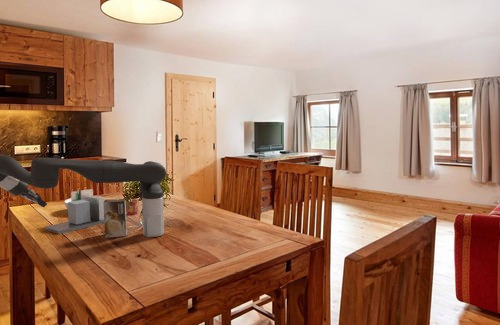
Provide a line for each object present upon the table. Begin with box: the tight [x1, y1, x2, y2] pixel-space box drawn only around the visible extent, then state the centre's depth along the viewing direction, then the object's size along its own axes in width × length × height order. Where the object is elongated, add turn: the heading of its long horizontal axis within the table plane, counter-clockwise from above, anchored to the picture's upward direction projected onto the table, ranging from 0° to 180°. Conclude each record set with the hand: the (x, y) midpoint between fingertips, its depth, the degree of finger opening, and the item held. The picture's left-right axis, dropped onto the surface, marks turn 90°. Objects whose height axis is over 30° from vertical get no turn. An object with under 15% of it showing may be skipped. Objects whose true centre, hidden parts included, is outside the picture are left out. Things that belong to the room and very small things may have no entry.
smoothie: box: [126, 200, 140, 216], centre depth 195 cm, size 8×8×20 cm
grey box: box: [67, 189, 90, 225], centre depth 172 cm, size 7×8×15 cm
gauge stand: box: [44, 188, 105, 235], centre depth 171 cm, size 24×12×16 cm, turn 145°
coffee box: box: [103, 198, 128, 239], centre depth 157 cm, size 9×6×16 cm
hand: (45, 205), depth 158 cm, fingers closed
